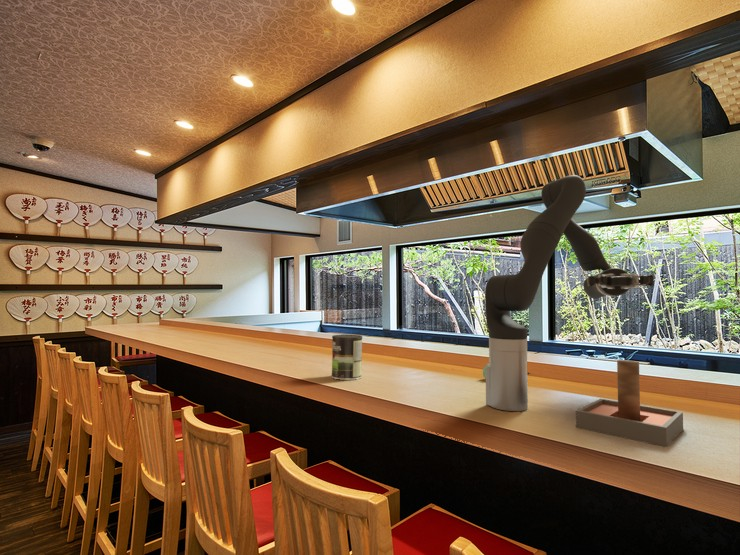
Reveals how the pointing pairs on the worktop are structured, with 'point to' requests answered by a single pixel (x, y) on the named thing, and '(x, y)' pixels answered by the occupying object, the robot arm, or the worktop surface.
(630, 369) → the dowel
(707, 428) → the worktop surface
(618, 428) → the bore box
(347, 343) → the coffee can
